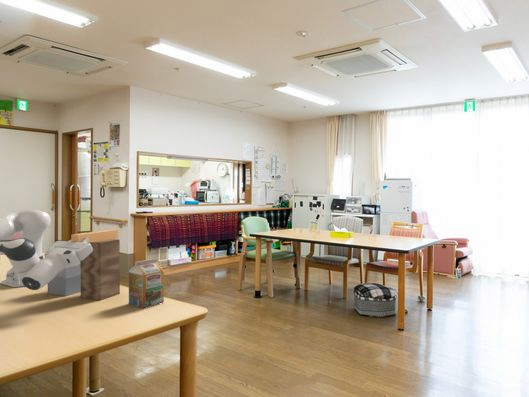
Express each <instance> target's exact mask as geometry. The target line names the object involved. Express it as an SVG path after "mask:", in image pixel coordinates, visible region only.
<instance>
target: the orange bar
mask: <svg viewBox="0 0 529 397" xmlns="http://www.w3.org/2000/svg"><path fill="white" fill-rule="evenodd" d="M70 238H71V239H70V240H71V242H80V243H81V242H83V239H84V238H88V239H89V241H88V242H87V243H90V242H97V241H103V240H110V239H119V229H106V230H99V231H97V230H96V231H89V232H82V233H75V234H74V233H73V234H71V237H70Z"/></svg>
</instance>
